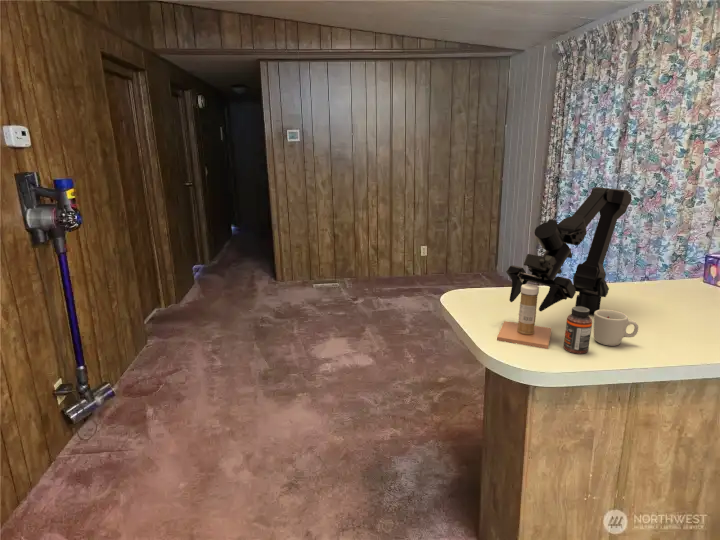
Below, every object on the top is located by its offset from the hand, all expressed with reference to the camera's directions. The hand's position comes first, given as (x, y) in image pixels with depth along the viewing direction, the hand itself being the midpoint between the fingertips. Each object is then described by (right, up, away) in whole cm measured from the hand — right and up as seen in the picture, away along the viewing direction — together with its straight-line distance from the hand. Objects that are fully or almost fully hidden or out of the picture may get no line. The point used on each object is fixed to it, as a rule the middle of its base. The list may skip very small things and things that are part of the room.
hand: (524, 305), depth 129 cm
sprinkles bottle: (+1, -8, +3) cm, 8 cm away
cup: (+23, -10, -1) cm, 25 cm away
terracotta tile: (+1, -9, +3) cm, 9 cm away
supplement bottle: (+11, -11, -6) cm, 17 cm away
